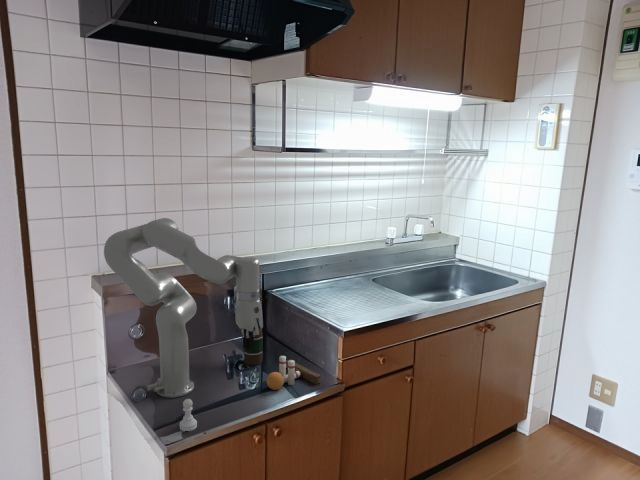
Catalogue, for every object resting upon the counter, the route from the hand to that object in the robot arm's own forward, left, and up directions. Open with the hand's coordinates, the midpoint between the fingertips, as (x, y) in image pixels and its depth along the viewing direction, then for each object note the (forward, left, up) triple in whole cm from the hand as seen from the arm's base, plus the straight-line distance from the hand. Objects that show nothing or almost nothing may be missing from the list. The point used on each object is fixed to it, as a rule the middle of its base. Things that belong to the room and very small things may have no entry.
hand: (248, 347), depth 165 cm
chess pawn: (-25, -5, -17) cm, 31 cm away
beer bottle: (+17, +22, -17) cm, 33 cm away
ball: (+10, -2, -14) cm, 17 cm away
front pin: (+14, 0, -16) cm, 21 cm away
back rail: (+24, 0, -17) cm, 29 cm away
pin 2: (+17, -3, -17) cm, 24 cm away
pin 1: (+17, +2, -17) cm, 24 cm away
